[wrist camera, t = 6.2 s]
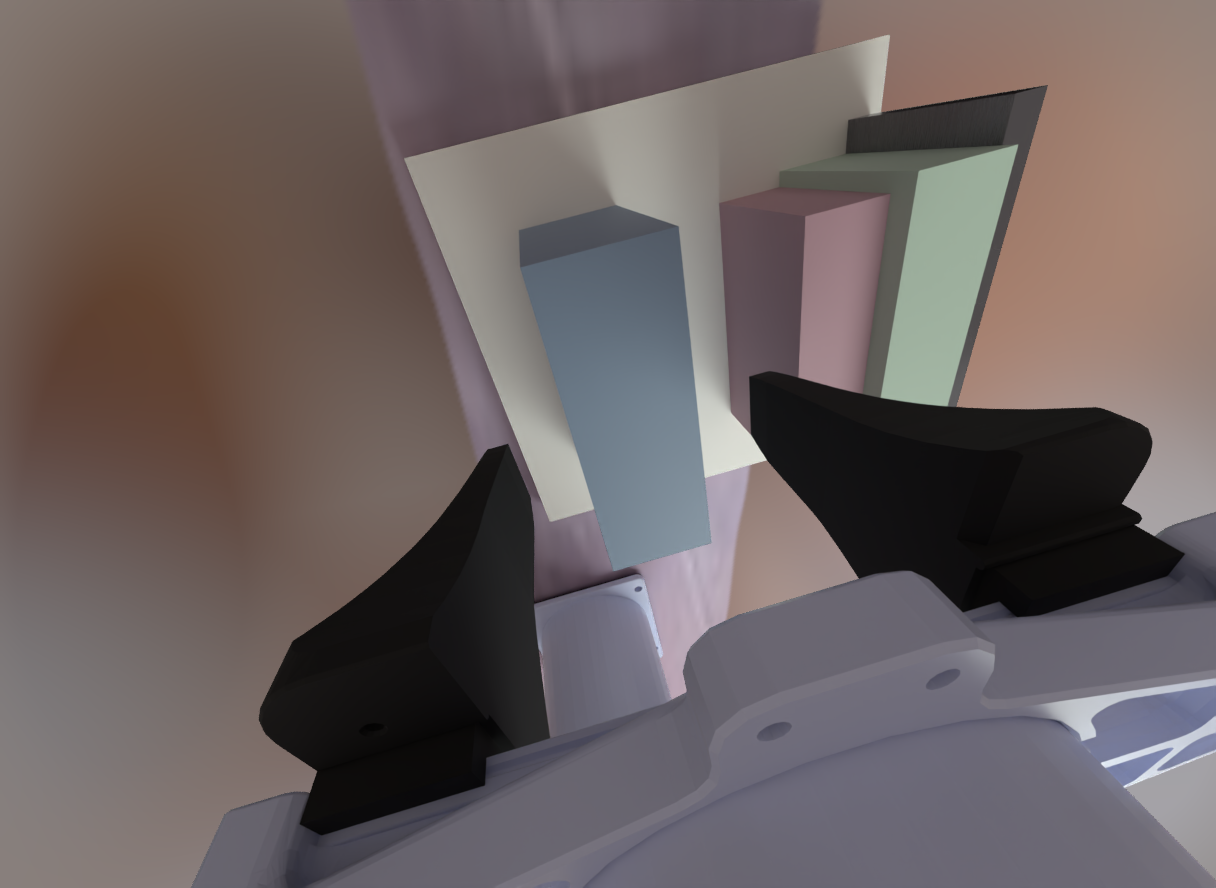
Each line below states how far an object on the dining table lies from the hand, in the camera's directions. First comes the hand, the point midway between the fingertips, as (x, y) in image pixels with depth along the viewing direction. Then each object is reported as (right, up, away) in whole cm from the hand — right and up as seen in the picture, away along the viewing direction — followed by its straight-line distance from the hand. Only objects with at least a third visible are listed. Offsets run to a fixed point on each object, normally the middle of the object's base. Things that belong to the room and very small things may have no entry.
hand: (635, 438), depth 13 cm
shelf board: (+2, +5, +6) cm, 8 cm away
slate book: (-1, +4, +5) cm, 7 cm away
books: (+6, +6, +6) cm, 10 cm away
